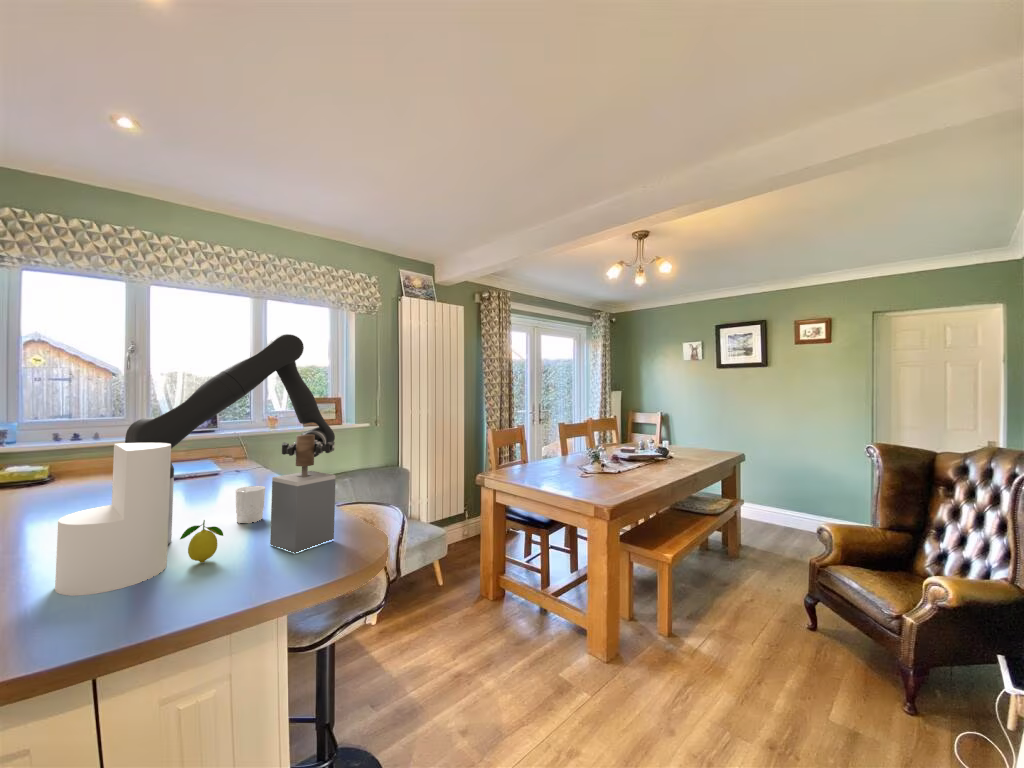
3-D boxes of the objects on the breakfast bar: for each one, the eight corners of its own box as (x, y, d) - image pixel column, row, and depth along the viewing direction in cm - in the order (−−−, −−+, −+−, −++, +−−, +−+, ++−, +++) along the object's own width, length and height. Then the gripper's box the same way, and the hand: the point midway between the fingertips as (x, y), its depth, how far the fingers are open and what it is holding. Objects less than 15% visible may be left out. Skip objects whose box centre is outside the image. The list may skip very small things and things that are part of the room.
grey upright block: (295, 554, 101) (297, 482, 102) (270, 545, 107) (272, 477, 107) (333, 541, 111) (335, 475, 111) (309, 533, 116) (310, 470, 117)
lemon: (178, 569, 92) (180, 525, 92) (191, 559, 98) (192, 517, 98) (212, 566, 94) (214, 523, 94) (223, 556, 99) (224, 515, 100)
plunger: (297, 543, 104) (300, 437, 105) (280, 537, 108) (283, 435, 108) (324, 534, 110) (327, 435, 111) (307, 529, 114) (310, 433, 115)
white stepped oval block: (158, 554, 100) (162, 440, 101) (175, 574, 90) (179, 447, 90) (52, 577, 87) (58, 447, 88) (57, 605, 76) (64, 455, 77)
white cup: (253, 524, 123) (254, 491, 124) (228, 524, 124) (229, 491, 124) (269, 517, 131) (270, 486, 132) (245, 516, 131) (246, 485, 132)
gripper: (285, 431, 121) (273, 437, 105) (337, 431, 126) (333, 436, 110) (284, 457, 120) (272, 466, 105) (337, 455, 125) (333, 464, 110)
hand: (304, 451), depth 107 cm, fingers open, 5 cm apart
